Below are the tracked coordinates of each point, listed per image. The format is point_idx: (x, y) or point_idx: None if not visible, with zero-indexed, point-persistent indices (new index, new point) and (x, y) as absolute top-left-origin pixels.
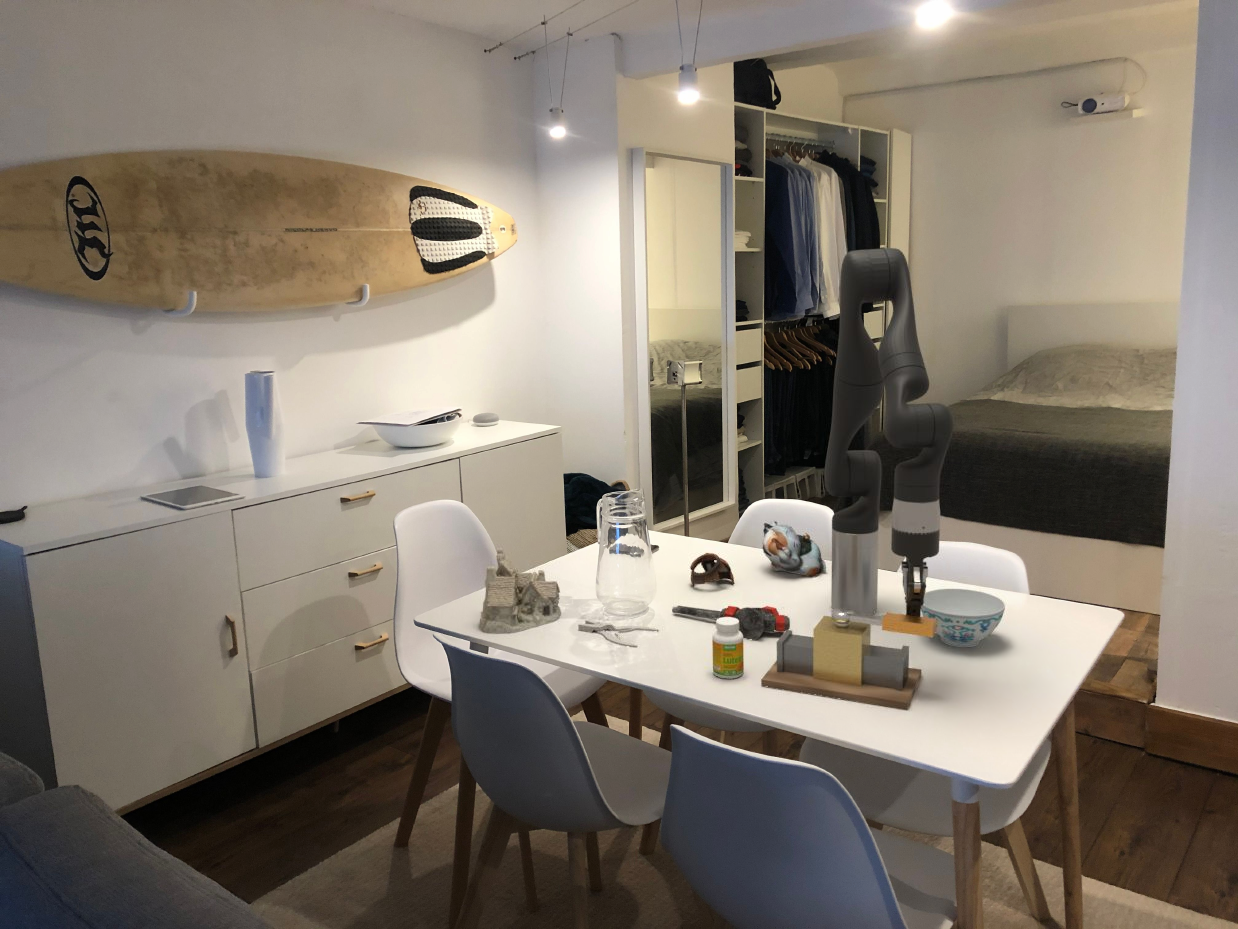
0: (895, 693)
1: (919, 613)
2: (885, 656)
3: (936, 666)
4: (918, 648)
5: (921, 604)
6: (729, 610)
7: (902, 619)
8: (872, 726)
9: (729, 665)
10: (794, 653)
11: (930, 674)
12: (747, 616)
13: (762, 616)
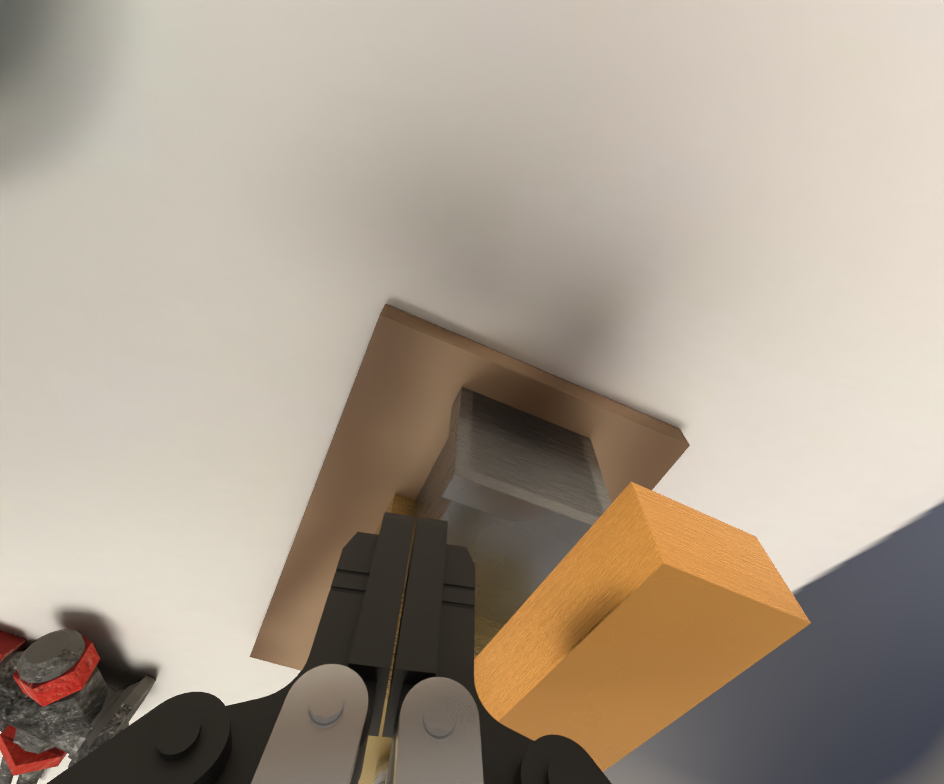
0: (604, 461)
1: (440, 609)
2: (539, 567)
3: (263, 202)
4: (45, 225)
5: (597, 778)
6: (38, 766)
7: (607, 736)
8: (756, 536)
9: None
10: None
11: (362, 259)
12: None
13: (66, 725)
